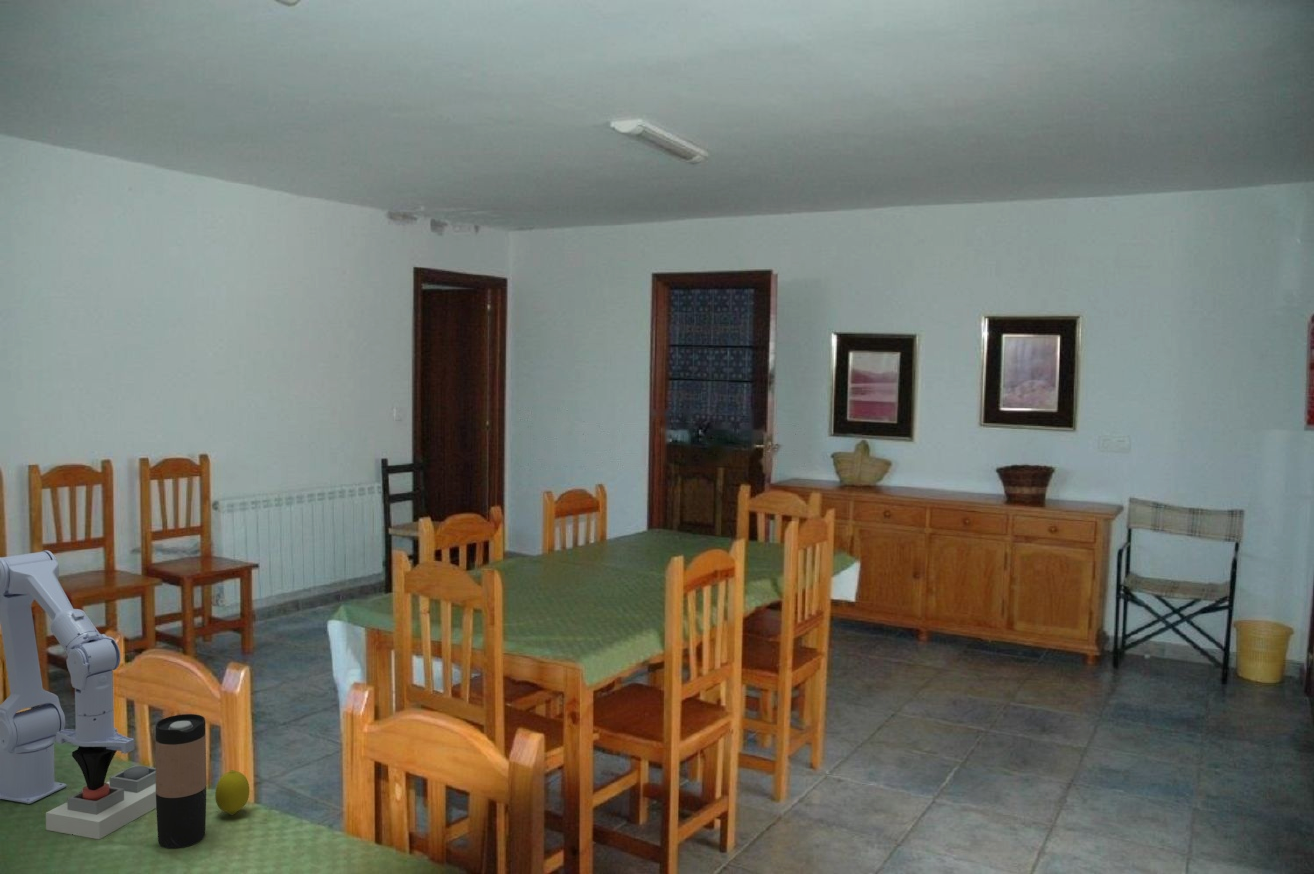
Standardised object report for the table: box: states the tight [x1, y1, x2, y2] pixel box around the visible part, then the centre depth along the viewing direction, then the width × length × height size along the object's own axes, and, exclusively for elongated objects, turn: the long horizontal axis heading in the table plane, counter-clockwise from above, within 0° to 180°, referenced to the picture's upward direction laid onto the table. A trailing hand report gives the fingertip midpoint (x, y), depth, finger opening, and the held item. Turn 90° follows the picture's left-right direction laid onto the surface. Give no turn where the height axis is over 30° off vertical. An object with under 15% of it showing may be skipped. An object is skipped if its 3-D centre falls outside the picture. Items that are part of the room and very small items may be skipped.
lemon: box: [214, 769, 250, 815], centre depth 175 cm, size 6×6×8 cm
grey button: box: [123, 765, 149, 780], centre depth 180 cm, size 4×4×2 cm
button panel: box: [45, 764, 156, 840], centre depth 175 cm, size 11×19×5 cm, turn 165°
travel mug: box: [155, 713, 208, 849], centre depth 165 cm, size 8×8×20 cm
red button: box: [82, 782, 109, 801], centre depth 171 cm, size 4×4×2 cm
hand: (95, 787), depth 171 cm, fingers closed, pressing on red button
